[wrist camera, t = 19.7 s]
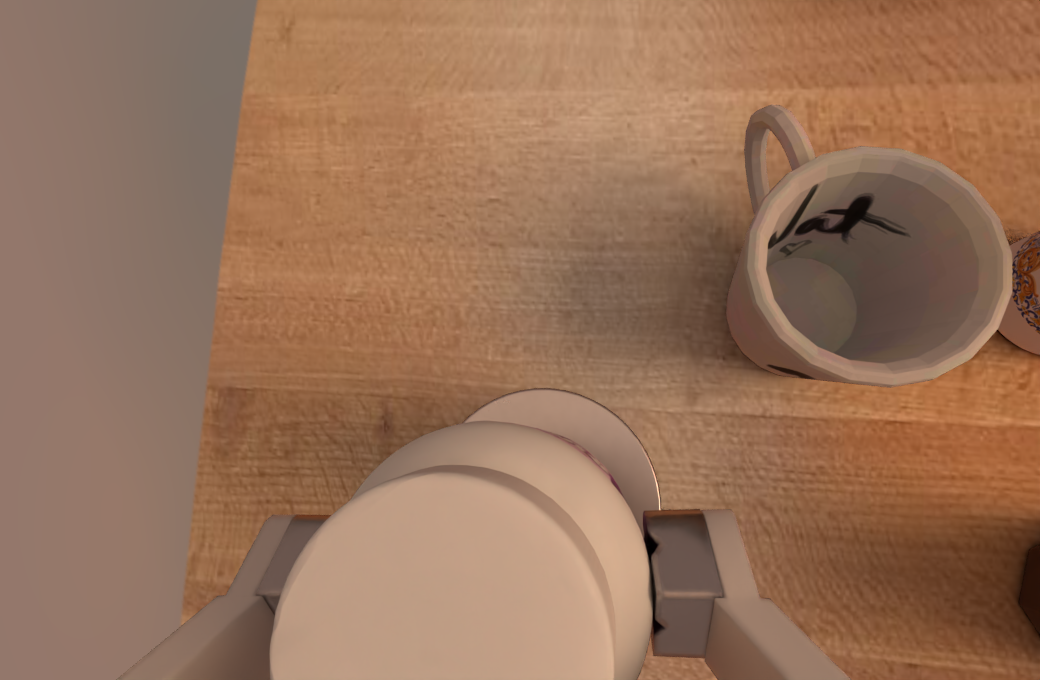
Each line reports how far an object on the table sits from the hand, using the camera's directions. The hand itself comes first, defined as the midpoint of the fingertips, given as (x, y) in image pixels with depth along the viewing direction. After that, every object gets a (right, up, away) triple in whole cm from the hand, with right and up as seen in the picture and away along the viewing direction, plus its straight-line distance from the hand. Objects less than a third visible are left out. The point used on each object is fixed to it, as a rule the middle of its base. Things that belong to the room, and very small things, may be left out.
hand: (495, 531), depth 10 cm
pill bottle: (+1, -2, +5) cm, 6 cm away
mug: (+16, +7, +23) cm, 29 cm away
